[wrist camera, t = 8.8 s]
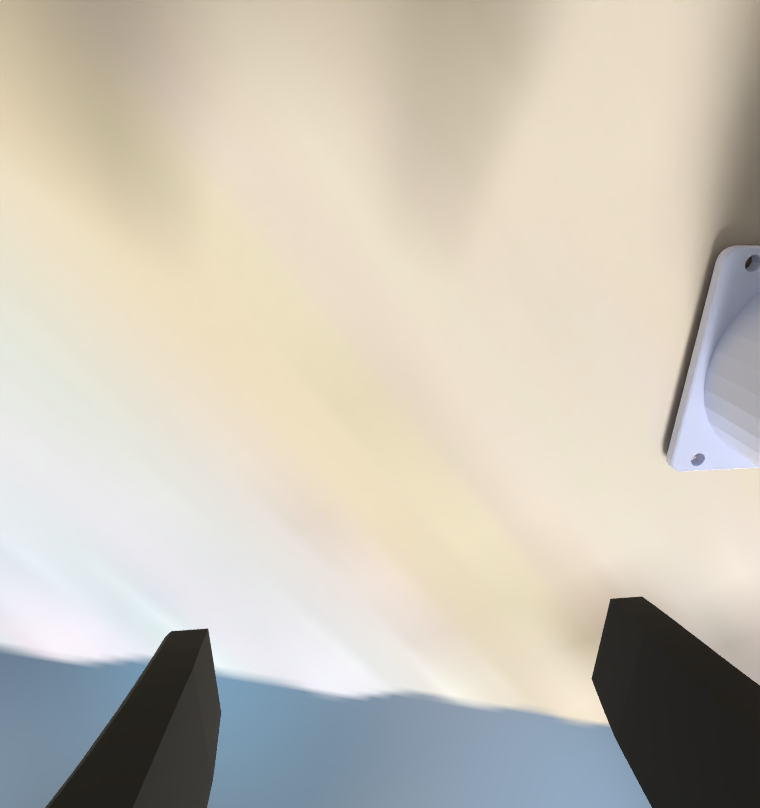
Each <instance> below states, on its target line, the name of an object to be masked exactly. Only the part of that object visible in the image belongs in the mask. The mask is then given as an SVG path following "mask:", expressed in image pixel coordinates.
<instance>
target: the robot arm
mask: <svg viewBox="0 0 760 808" xmlns="http://www.w3.org/2000/svg"><path fill="white" fill-rule="evenodd" d="M750 256H751V257H752V262H751V264H750V266H749V267H747V268H746V269H745V263H746V261H747V259H748V258H749V257H750ZM696 454H698V455H697V457H696V458H695V459H693V460H691V459H692V458H693V456H695V455H696ZM666 461H667V463H668V465H670V466H671V467H672V468H673V469H675V470H676V471H701V470H721V469H742V468H760V245H735V246H730V247H728V248H726V249H724V250H723V251H722V252H721V253H720V255H719V256H718V258H717V260H716V263H715V267H714V271H713V275H712V279H711V283H710V287H709V291H708V295H707V299H706V303H705V307H704V311H703V315H702V319H701V322H700V326H699V330H698V334H697V338H696V342H695V346H694V350H693V354H692V358H691V362H690V366H689V370H688V374H687V378H686V382H685V386H684V390H683V394H682V397H681V401H680V405H679V409H678V413H677V417H676V421H675V425H674V429H673V433H672V437H671V441H670V445H669V449H668V453H667V459H666ZM592 681H593V684H594V686H595V689H596V691H597V694H598V696H599V699H600V702H601V704H602V707H603V709H604V712H605V714H606V717H607V719H608V722H609V724H610V726H611V729H612V731H613V733H614V736H615V738H616V740H617V742H618V744H619V746H620V748H621V750H622V752H623V754H624V756H625V758H626V759H627V761H628V763H629V765H630V767H631V769H632V771H633V773H634V774H635V776H636V778H637V780H638V782H639V784H640V786H641V788H642V790H643V792H644V793H645V795H646V797H647V799H648V801H649V803H650V804H651V806H652V808H760V685H758V684H757V683H756V682H754V681H753V680H751V679H750V678H749V677H747V676H746V675H745V674H743V673H742V672H741V671H739V670H738V669H737V668H736V667H734V666H733V665H732V664H730V663H729V662H728V661H726V660H725V659H724V658H722V657H721V656H720V655H718V654H717V653H716V652H715V651H713V650H712V649H711V648H709V647H708V646H707V645H705V644H704V643H703V642H702V641H700V640H699V639H698V638H696V637H695V636H694V635H692V634H691V633H690V632H689V631H687V630H686V629H685V628H683V627H682V626H681V625H679V624H678V623H677V622H676V621H674V620H673V619H672V618H670V617H669V616H668V615H666V614H665V613H664V612H662V611H661V610H660V609H658V608H657V607H656V606H654V605H653V604H652V603H650V602H649V601H647V600H646V599H645V598H643V597H630V598H617V599H610V603H609V608H608V612H607V616H606V620H605V625H604V629H603V633H602V637H601V642H600V646H599V650H598V654H597V659H596V663H595V667H594V671H593V675H592ZM220 717H221V709H220V702H219V696H218V689H217V684H216V676H215V670H214V663H213V657H212V650H211V644H210V637H209V631H208V629H197V630H183V631H171V632H170V633H169V634H168V635H167V636H166V637H165V638H164V640H163V641H162V643H161V645H160V646H159V648H158V649H157V651H156V653H155V654H154V656H153V657H152V659H151V660H150V662H149V664H148V665H147V667H146V668H145V670H144V671H143V673H142V674H141V676H140V677H139V679H138V681H137V682H136V684H135V685H134V687H133V688H132V690H131V691H130V692H129V694H128V696H127V697H126V698H125V700H124V701H123V703H122V704H121V706H120V707H119V709H118V710H117V712H116V713H115V715H114V716H113V717H112V719H111V720H110V722H109V723H108V724H107V726H106V727H105V728H104V730H103V731H102V733H101V734H100V736H99V737H98V738H97V740H96V741H95V742H94V744H93V745H92V747H91V748H90V750H89V751H88V752H87V754H86V755H85V756H84V758H83V759H82V761H81V762H80V763H79V765H78V766H77V767H76V769H75V770H74V771H73V773H72V774H71V775H70V777H69V778H68V779H67V781H66V782H65V783H64V784H63V786H62V787H61V788H60V790H59V791H58V792H57V793H56V795H55V796H54V797H53V799H52V800H51V801H50V802H49V804H48V805H47V806H46V808H207V804H208V800H209V795H210V790H211V786H212V781H213V774H214V767H215V759H216V751H217V742H218V734H219V726H220Z"/></svg>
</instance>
